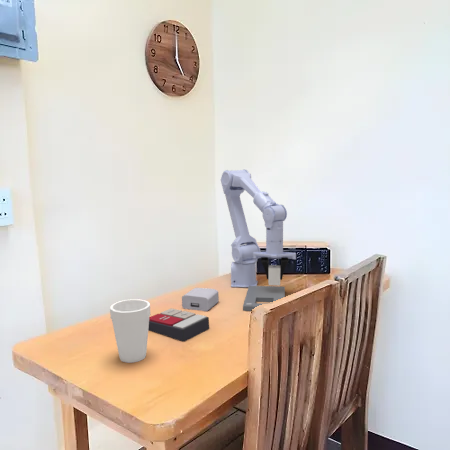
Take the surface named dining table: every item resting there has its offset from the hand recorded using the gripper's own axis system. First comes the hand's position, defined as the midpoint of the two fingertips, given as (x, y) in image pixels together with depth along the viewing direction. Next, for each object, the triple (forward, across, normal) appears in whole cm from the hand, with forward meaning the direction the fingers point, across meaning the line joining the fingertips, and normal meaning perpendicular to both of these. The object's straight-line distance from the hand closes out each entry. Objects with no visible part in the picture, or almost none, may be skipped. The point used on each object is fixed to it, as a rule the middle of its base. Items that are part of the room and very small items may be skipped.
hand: (274, 278), depth 145 cm
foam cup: (+6, -33, -50) cm, 60 cm away
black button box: (+7, -27, -32) cm, 42 cm away
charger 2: (+2, 0, 0) cm, 2 cm away
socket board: (+6, -3, -5) cm, 8 cm away
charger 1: (+6, -23, -10) cm, 26 cm away
